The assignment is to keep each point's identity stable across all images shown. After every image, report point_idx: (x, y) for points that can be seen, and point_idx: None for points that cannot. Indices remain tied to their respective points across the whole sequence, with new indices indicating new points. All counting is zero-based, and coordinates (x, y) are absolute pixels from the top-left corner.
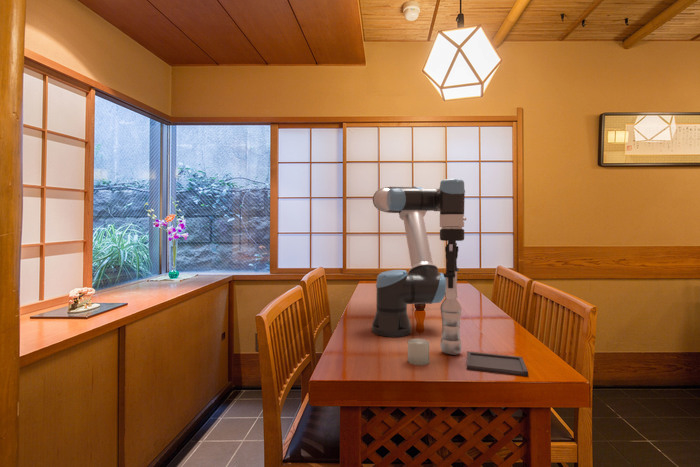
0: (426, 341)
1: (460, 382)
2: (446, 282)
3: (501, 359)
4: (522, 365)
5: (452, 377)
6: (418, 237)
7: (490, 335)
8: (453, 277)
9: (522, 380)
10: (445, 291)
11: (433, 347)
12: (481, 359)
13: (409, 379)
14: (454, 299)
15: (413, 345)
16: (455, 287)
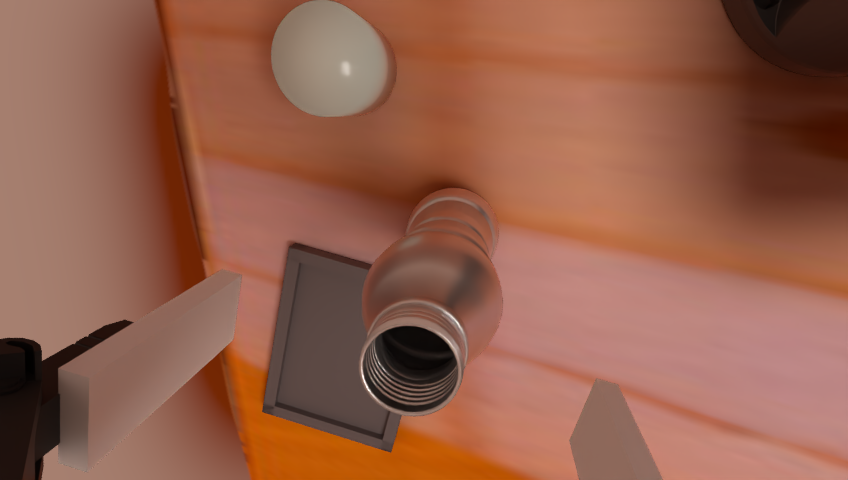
0: (331, 103)
1: (187, 193)
2: (117, 338)
3: None
4: (312, 419)
5: (220, 176)
6: None
7: (700, 456)
8: (58, 445)
9: (238, 376)
10: (412, 322)
11: (533, 164)
12: None
13: (173, 13)
14: (384, 353)
15: (280, 29)
16: (579, 458)
